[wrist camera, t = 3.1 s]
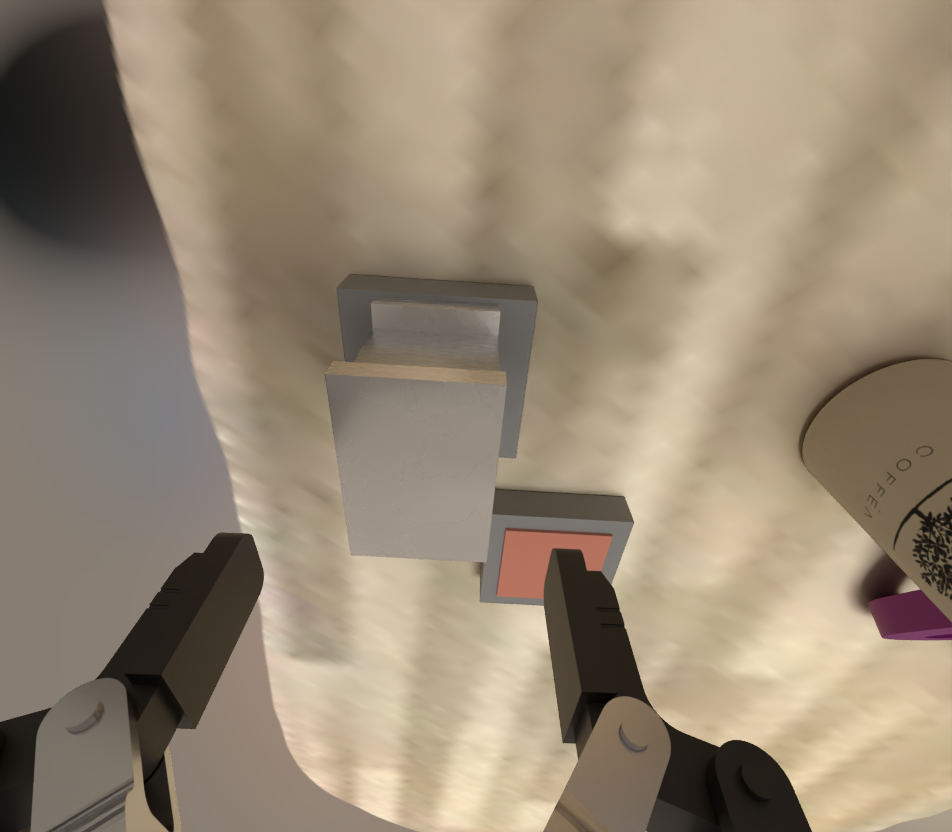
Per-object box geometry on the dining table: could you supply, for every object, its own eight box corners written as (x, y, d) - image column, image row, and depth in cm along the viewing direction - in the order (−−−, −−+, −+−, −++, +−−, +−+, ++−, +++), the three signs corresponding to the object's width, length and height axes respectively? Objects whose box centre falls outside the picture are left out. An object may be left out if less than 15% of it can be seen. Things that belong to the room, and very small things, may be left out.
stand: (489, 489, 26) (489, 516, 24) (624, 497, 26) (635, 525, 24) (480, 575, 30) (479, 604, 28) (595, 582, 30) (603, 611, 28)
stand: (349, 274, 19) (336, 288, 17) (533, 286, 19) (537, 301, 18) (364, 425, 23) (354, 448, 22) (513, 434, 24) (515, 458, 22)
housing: (375, 296, 18) (324, 374, 12) (499, 305, 18) (506, 385, 12) (384, 446, 22) (351, 555, 16) (486, 452, 22) (486, 562, 16)
